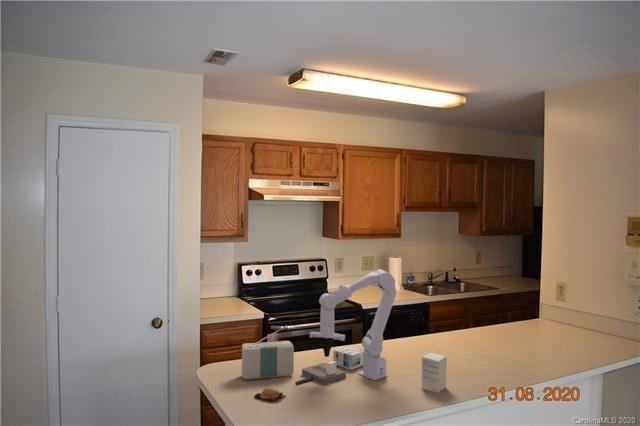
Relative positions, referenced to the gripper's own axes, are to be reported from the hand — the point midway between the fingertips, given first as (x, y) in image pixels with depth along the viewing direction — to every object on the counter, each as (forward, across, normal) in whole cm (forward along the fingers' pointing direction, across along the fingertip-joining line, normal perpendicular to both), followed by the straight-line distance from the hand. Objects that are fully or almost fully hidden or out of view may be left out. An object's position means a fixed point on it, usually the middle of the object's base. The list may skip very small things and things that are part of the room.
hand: (327, 356), depth 200 cm
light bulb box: (+6, 0, -20) cm, 21 cm away
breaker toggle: (+6, -2, +2) cm, 7 cm away
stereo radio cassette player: (+9, +24, +7) cm, 26 cm away
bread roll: (+10, +14, +26) cm, 31 cm away
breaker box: (+9, +2, -1) cm, 9 cm away
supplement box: (+10, -43, -4) cm, 44 cm away
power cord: (+9, +7, +8) cm, 14 cm away
